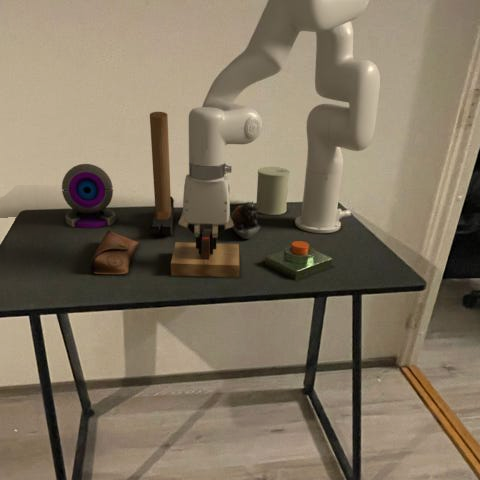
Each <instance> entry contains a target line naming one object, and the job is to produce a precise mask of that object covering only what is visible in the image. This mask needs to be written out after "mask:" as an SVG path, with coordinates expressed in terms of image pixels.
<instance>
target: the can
mask: <svg viewBox="0 0 480 480" xmlns="http://www.w3.org/2000/svg"><path fill="white" fill-rule="evenodd" d="M289 180H290V170H288V169H287V168H284V167H280V166H279V167H277V166H264V167H259V168H258V169H257V187H256V189H257V190H256V203H255V205H256V207H258V209H257V210H258V214H259V213H260V214H263V215H267V216H278V215H283V214H286V213H287V211H288V210H287V205H288V203H287V202H288V190H289Z"/></svg>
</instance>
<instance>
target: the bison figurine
mask: <svg viewBox="0 0 480 480" xmlns="http://www.w3.org/2000/svg"><path fill="white" fill-rule="evenodd" d="M257 209H258V207H256V203H254V201H247V202H245V203H243V205H238V206H236V207H235V208H234V209H233V212H232V219H233V222H234V226H233V227H232V230H233V231H234V232H235V233H236V235H238V236H239V237H240V238H242V239H243V240H244V239H245V240H247V239H252V238H253V237H254V236H255V235H256V234H257V233H259V231H260V229H261V226H260V225H259V224H258V220H257V219H259V216H258V214H259V212H258V210H257Z"/></svg>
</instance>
